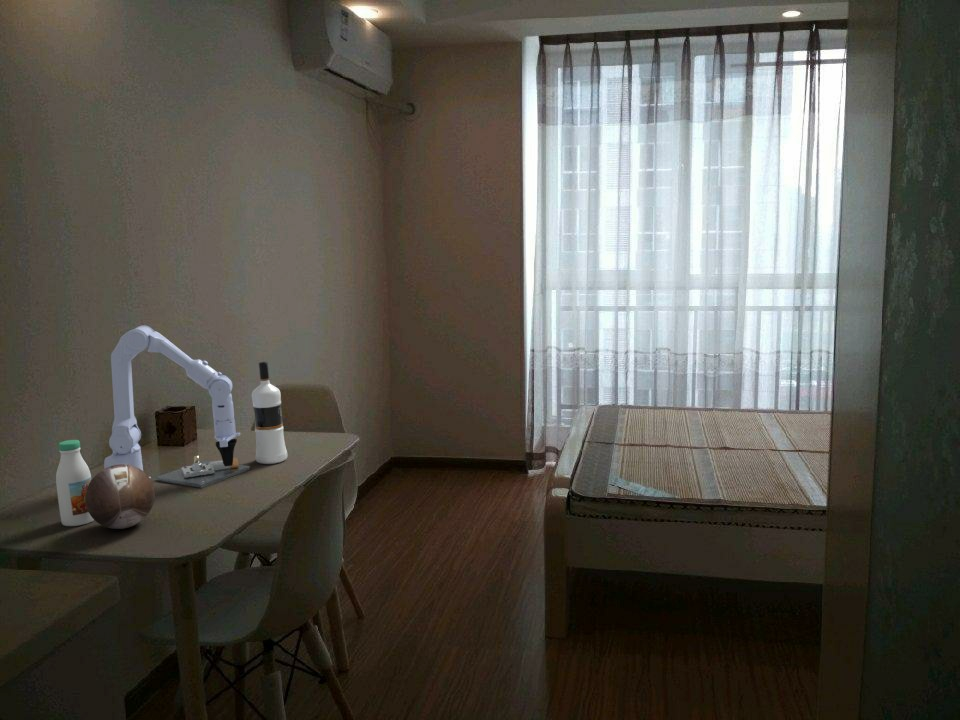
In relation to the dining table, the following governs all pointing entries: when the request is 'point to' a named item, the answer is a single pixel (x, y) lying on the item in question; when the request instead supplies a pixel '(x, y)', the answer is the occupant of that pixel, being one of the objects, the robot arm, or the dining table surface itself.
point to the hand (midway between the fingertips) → (228, 465)
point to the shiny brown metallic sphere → (120, 496)
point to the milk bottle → (72, 484)
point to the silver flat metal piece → (208, 468)
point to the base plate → (201, 480)
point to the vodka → (268, 420)
